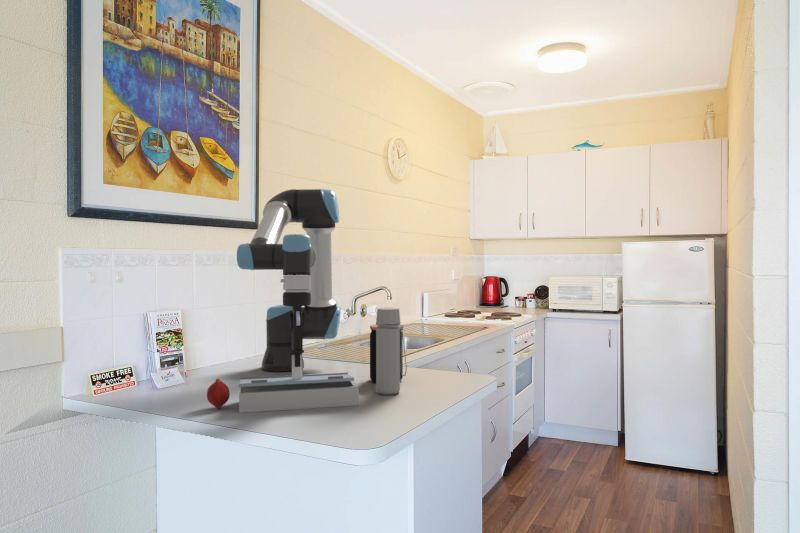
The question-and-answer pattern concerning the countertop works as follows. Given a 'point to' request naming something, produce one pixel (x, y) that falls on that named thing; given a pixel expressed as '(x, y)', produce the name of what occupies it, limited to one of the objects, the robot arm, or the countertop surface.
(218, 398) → the onion
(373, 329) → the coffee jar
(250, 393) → the grey tray
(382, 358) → the water bottle
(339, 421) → the countertop surface
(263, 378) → the cover
